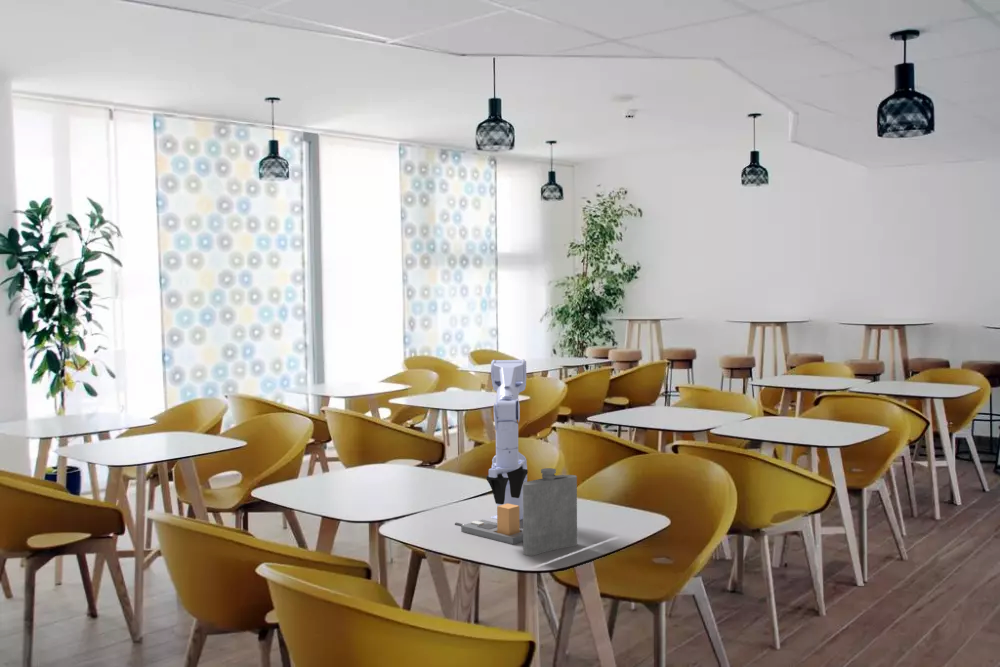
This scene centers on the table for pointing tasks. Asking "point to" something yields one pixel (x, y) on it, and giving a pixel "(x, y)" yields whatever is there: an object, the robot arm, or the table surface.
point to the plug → (508, 519)
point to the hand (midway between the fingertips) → (507, 500)
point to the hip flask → (549, 513)
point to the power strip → (490, 531)
